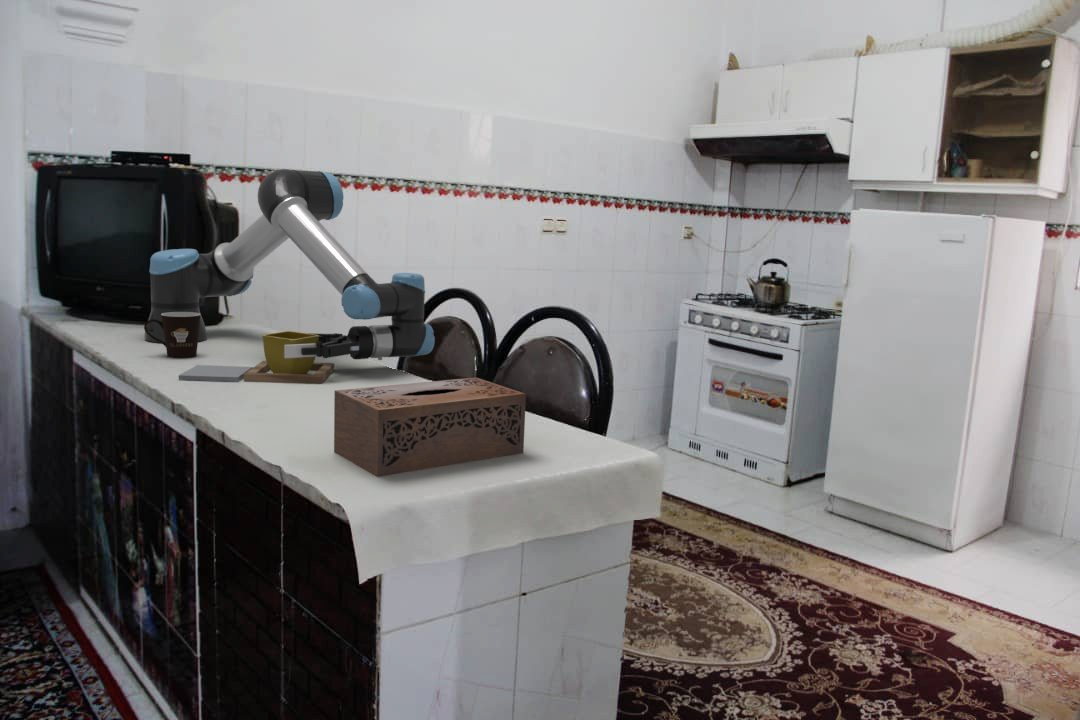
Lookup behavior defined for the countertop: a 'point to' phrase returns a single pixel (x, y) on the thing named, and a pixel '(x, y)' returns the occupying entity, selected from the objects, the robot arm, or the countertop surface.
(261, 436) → the countertop surface
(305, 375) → the board
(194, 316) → the coffee mug
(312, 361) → the flower pot
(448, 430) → the tissue box cover
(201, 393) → the countertop surface
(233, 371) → the mat
